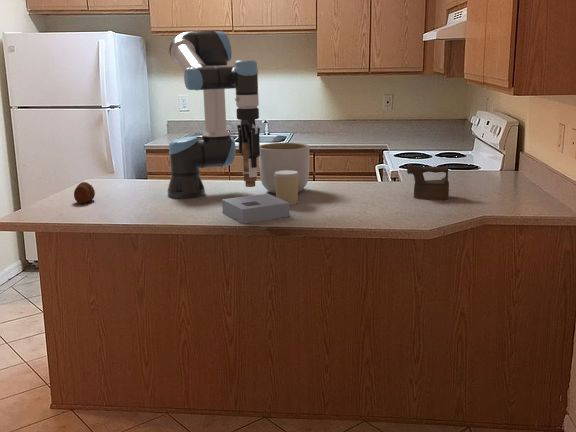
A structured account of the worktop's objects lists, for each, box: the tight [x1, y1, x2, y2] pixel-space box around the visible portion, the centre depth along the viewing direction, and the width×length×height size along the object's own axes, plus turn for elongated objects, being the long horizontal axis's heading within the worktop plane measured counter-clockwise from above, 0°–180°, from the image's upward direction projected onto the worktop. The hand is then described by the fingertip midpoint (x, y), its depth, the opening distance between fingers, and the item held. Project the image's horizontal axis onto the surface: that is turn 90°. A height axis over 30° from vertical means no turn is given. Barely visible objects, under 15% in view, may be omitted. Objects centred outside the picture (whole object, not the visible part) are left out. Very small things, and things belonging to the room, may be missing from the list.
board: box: [221, 193, 291, 225], centre depth 227 cm, size 18×18×5 cm
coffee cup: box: [274, 170, 299, 206], centre depth 243 cm, size 9×9×12 cm
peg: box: [242, 142, 258, 188], centre depth 219 cm, size 5×5×15 cm
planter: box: [258, 142, 310, 195], centre depth 262 cm, size 21×21×19 cm
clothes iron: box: [406, 163, 450, 201], centre depth 246 cm, size 8×16×13 cm, turn 87°
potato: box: [73, 181, 96, 205], centre depth 253 cm, size 8×12×8 cm, turn 0°
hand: (250, 175), depth 220 cm, fingers closed on peg, 4 cm apart
